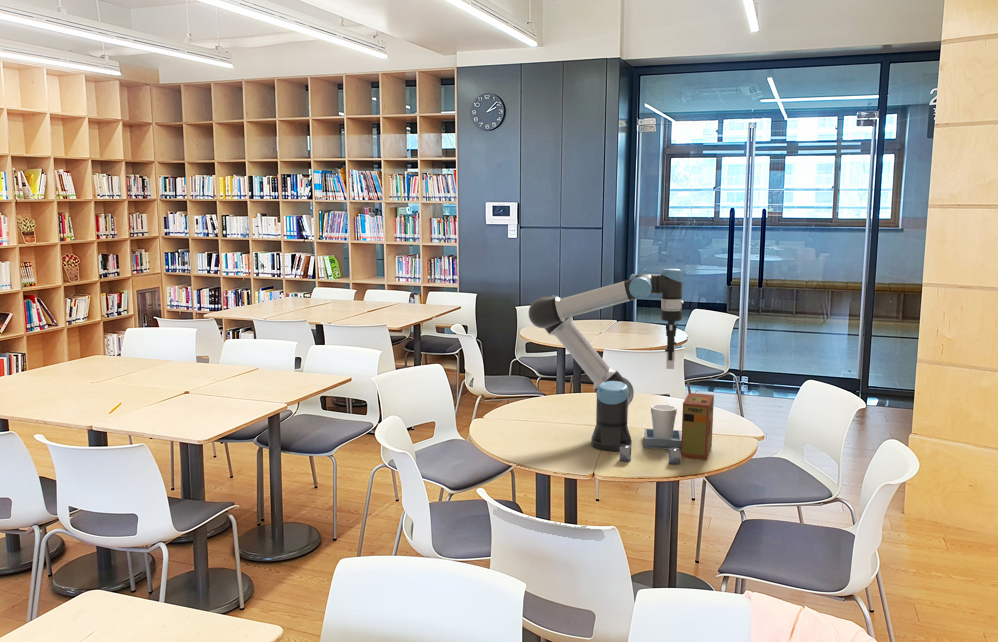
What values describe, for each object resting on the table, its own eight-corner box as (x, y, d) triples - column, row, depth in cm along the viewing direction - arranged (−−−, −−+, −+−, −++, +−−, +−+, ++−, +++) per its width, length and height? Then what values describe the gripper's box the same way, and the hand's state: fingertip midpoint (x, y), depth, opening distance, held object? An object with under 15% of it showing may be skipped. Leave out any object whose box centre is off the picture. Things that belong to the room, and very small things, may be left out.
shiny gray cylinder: (668, 464, 261) (669, 450, 261) (668, 461, 265) (668, 447, 264) (680, 465, 261) (681, 451, 260) (679, 461, 264) (680, 448, 264)
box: (687, 444, 284) (689, 392, 282) (711, 447, 281) (713, 395, 278) (680, 457, 269) (682, 403, 266) (706, 460, 266) (709, 405, 263)
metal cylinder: (619, 461, 264) (619, 447, 264) (619, 458, 268) (619, 444, 267) (630, 462, 264) (631, 448, 263) (630, 458, 267) (631, 445, 267)
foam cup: (677, 444, 281) (678, 410, 279) (652, 444, 281) (653, 410, 279) (672, 436, 290) (673, 404, 288) (648, 436, 290) (649, 404, 288)
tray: (644, 447, 280) (644, 438, 279) (644, 437, 293) (644, 428, 293) (682, 449, 277) (682, 440, 277) (680, 439, 291) (680, 430, 290)
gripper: (681, 314, 270) (680, 372, 273) (681, 306, 294) (680, 359, 297) (660, 313, 272) (659, 371, 275) (662, 305, 296) (661, 358, 299)
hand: (670, 365), depth 286 cm, fingers open, 13 cm apart
